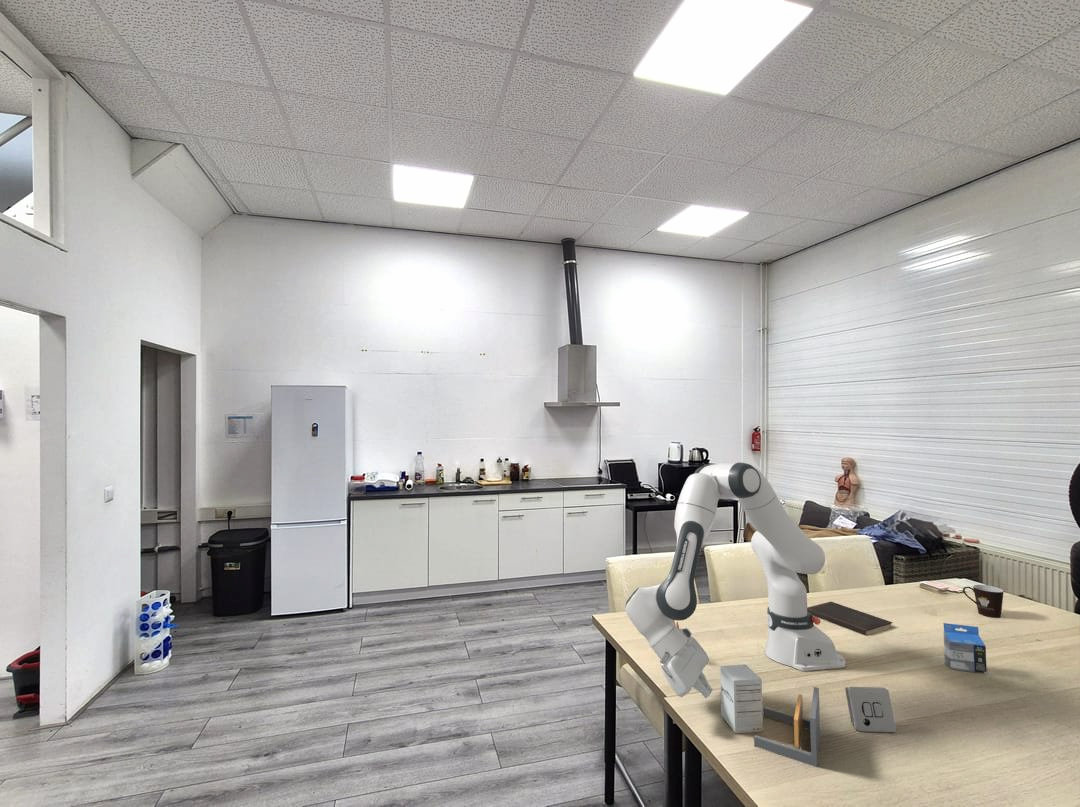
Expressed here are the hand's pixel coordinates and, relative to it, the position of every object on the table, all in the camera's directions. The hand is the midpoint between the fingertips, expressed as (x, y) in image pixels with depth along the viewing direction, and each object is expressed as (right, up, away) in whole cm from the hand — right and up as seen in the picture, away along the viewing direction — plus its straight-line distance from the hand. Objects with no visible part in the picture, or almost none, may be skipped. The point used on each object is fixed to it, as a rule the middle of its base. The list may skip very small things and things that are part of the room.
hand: (709, 694), depth 122 cm
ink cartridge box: (+85, -5, +21) cm, 87 cm away
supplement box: (+6, -5, -4) cm, 9 cm away
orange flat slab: (+17, -3, -11) cm, 21 cm away
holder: (+15, -4, -10) cm, 19 cm away
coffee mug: (+130, -7, +62) cm, 144 cm away
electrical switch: (+37, -4, -6) cm, 38 cm away
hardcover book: (+73, -8, +58) cm, 93 cm away
